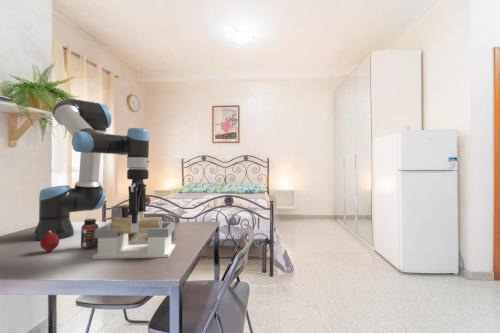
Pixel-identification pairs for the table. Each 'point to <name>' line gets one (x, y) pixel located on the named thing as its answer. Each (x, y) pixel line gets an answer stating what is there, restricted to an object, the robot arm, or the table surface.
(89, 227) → the supplement bottle
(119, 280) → the table surface
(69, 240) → the table surface
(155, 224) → the rail
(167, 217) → the handheld gaming console
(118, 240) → the bracket stand
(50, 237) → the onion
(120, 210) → the coffee box
